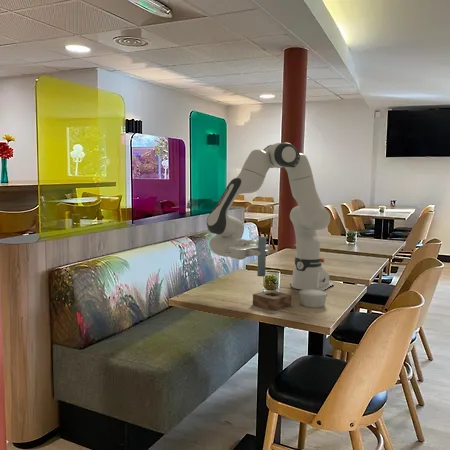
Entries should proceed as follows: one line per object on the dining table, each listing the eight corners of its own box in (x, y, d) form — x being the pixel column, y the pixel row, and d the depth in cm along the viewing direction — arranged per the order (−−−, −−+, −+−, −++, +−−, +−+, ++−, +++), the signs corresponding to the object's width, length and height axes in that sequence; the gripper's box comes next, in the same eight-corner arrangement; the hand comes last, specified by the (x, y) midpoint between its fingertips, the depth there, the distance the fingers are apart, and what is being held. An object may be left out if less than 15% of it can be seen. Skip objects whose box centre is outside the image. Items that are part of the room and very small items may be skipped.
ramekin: (296, 301, 194) (296, 289, 194) (322, 301, 195) (322, 289, 195) (302, 308, 183) (302, 295, 183) (330, 308, 184) (330, 295, 183)
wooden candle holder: (270, 300, 194) (270, 289, 194) (291, 305, 186) (291, 295, 186) (252, 305, 186) (252, 294, 186) (273, 310, 179) (274, 299, 178)
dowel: (260, 274, 192) (261, 236, 190) (266, 275, 190) (267, 237, 188) (255, 275, 190) (256, 236, 188) (261, 276, 188) (262, 237, 186)
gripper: (221, 243, 190) (246, 247, 181) (255, 239, 205) (279, 243, 195) (221, 258, 191) (245, 263, 181) (254, 253, 205) (279, 258, 195)
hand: (263, 253), depth 188 cm, fingers closed on dowel, 3 cm apart
